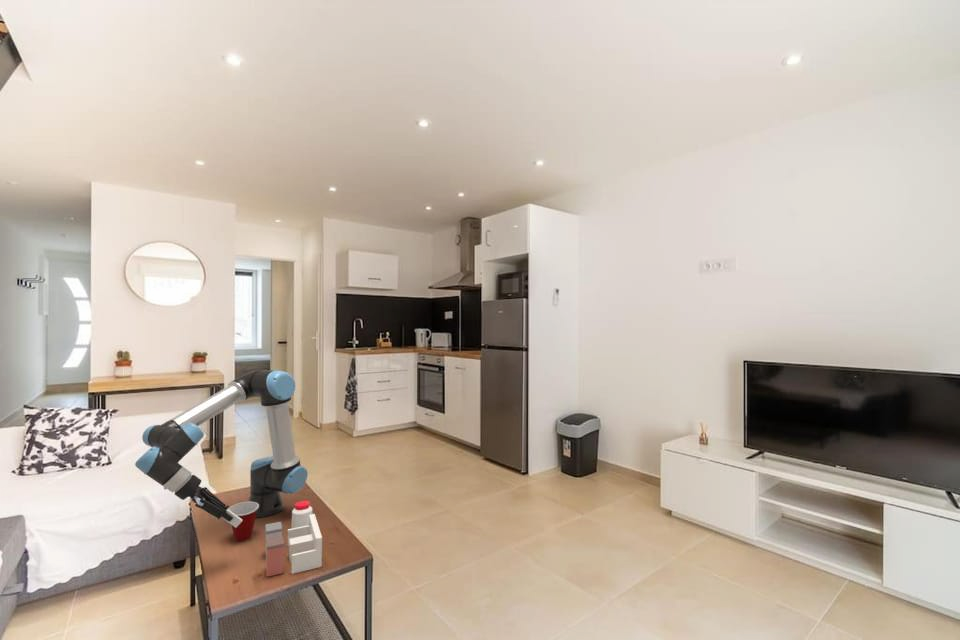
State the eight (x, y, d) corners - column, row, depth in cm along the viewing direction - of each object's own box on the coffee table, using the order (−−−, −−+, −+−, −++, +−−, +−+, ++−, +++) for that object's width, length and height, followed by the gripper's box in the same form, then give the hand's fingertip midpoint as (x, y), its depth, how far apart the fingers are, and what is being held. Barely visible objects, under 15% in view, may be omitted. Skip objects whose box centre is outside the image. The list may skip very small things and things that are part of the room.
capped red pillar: (265, 567, 147) (266, 538, 147) (282, 563, 149) (282, 535, 150) (266, 577, 142) (266, 547, 142) (283, 573, 144) (284, 543, 144)
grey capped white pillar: (265, 551, 158) (265, 524, 158) (280, 547, 160) (281, 521, 160) (265, 559, 152) (265, 531, 152) (281, 555, 155) (282, 528, 155)
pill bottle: (304, 536, 170) (305, 508, 170) (287, 534, 171) (287, 506, 171) (316, 527, 177) (316, 500, 177) (299, 525, 179) (299, 498, 179)
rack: (287, 545, 162) (287, 518, 163) (314, 539, 167) (314, 513, 167) (291, 573, 144) (292, 543, 144) (321, 566, 148) (322, 537, 148)
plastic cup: (226, 547, 161) (226, 515, 161) (227, 534, 170) (228, 504, 170) (258, 540, 166) (259, 509, 166) (258, 529, 175) (259, 499, 175)
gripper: (176, 486, 148) (231, 525, 156) (169, 499, 137) (229, 541, 144) (195, 468, 151) (248, 507, 158) (190, 480, 139) (247, 522, 147)
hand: (239, 523), depth 151 cm, fingers closed
